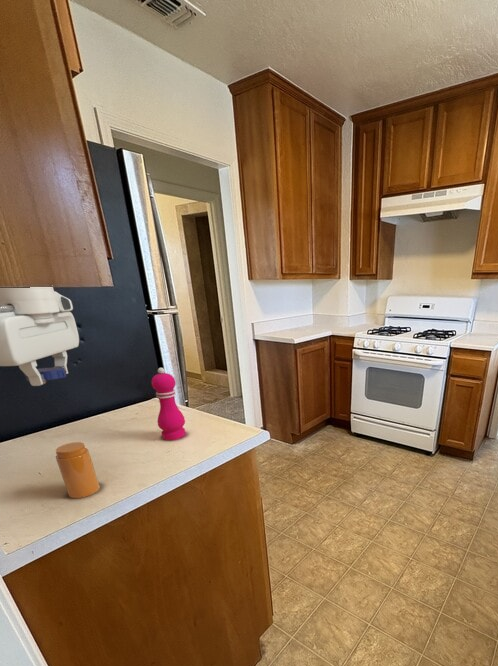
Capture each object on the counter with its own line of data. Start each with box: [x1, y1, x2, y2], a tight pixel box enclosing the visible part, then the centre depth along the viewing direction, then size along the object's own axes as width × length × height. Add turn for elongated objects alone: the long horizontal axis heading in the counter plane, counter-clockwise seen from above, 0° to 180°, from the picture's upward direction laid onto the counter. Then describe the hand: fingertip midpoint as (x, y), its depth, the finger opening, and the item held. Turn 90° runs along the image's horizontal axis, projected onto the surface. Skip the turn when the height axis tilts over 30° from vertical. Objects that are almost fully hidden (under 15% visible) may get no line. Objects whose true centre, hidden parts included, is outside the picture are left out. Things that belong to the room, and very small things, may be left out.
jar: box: [55, 441, 100, 499], centre depth 73 cm, size 6×6×10 cm
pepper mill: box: [151, 367, 186, 441], centre depth 98 cm, size 7×7×20 cm
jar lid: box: [23, 367, 67, 382], centre depth 67 cm, size 6×6×2 cm
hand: (51, 379), depth 68 cm, fingers closed on jar lid, 6 cm apart
